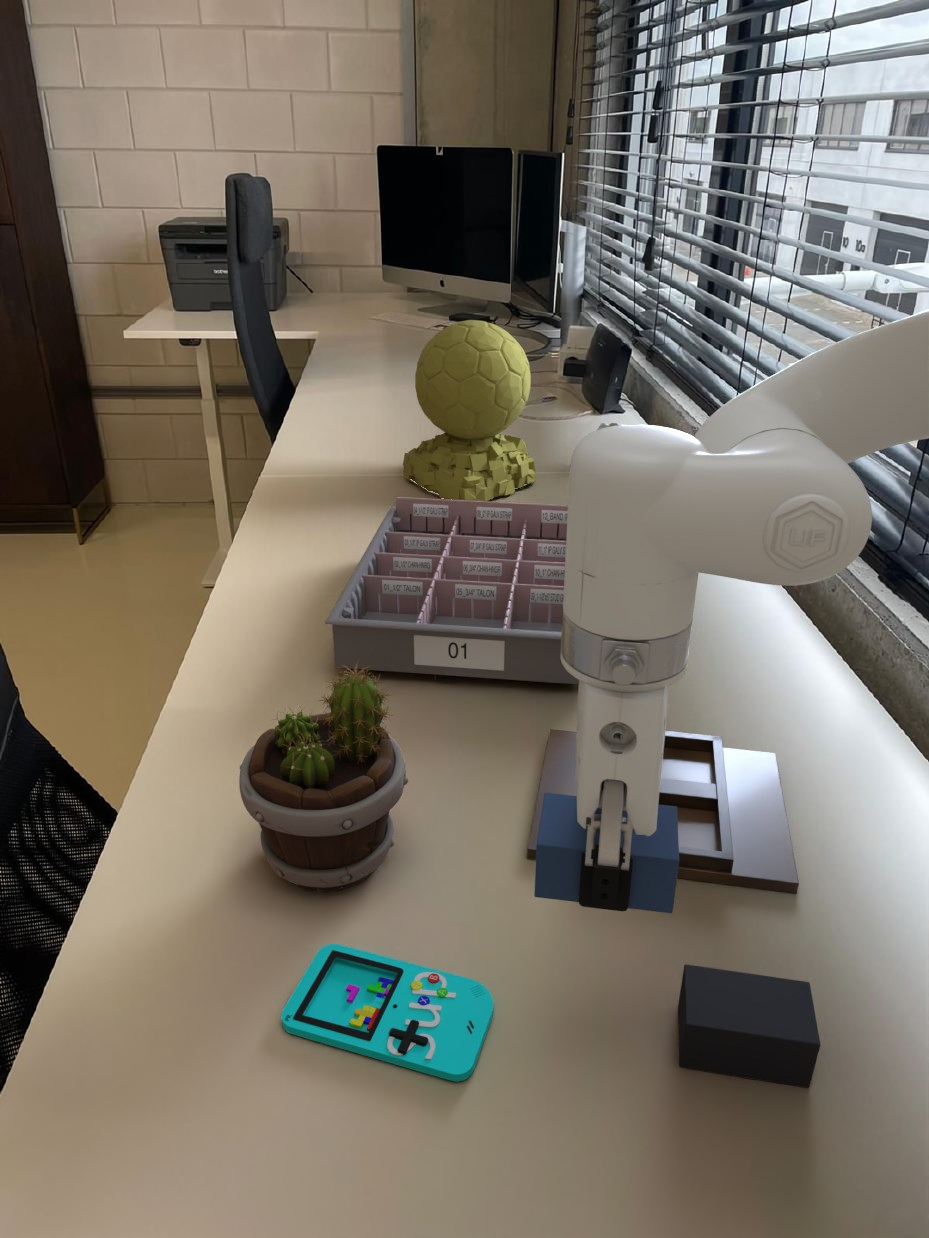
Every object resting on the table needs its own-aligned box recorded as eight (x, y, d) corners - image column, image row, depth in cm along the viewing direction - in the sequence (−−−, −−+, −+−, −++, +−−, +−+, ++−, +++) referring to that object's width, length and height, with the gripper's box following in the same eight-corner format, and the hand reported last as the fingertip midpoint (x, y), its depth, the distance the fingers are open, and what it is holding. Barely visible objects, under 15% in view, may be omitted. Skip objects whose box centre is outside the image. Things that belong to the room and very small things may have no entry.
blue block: (670, 857, 66) (677, 805, 64) (672, 914, 61) (679, 860, 59) (542, 842, 67) (544, 792, 65) (534, 897, 63) (536, 844, 61)
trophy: (477, 457, 195) (479, 306, 181) (552, 484, 180) (560, 322, 166) (389, 479, 182) (383, 318, 169) (461, 511, 167) (461, 337, 154)
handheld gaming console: (468, 1075, 66) (275, 1020, 70) (468, 1085, 66) (276, 1029, 70) (501, 984, 73) (324, 938, 77) (501, 993, 73) (325, 947, 78)
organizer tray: (328, 680, 116) (322, 607, 111) (392, 552, 151) (390, 493, 146) (592, 699, 112) (597, 624, 107) (594, 563, 147) (599, 503, 143)
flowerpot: (258, 931, 79) (232, 732, 70) (243, 817, 92) (220, 637, 83) (426, 896, 83) (423, 703, 74) (389, 792, 96) (382, 617, 87)
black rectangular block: (799, 1024, 71) (809, 981, 69) (809, 1088, 66) (820, 1044, 64) (677, 1005, 73) (684, 963, 71) (678, 1067, 68) (685, 1024, 66)
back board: (773, 762, 101) (777, 741, 100) (796, 893, 83) (802, 870, 82) (549, 737, 105) (550, 717, 104) (526, 858, 87) (527, 835, 86)
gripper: (696, 724, 48) (662, 979, 56) (684, 582, 63) (659, 800, 71) (548, 710, 49) (536, 962, 57) (571, 575, 64) (560, 790, 72)
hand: (605, 870), depth 64 cm, fingers closed on blue block, 5 cm apart
